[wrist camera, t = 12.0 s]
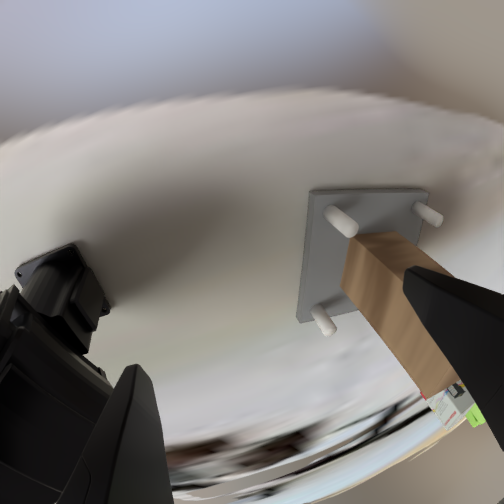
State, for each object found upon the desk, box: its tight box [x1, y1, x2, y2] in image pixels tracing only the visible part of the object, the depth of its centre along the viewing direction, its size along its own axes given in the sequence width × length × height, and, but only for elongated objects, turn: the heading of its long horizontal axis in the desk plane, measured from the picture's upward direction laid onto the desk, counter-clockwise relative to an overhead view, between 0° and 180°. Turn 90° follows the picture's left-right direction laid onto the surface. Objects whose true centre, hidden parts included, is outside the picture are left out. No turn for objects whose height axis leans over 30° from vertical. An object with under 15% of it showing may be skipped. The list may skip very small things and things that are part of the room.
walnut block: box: [340, 231, 461, 399], centre depth 19 cm, size 5×5×13 cm
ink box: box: [420, 380, 475, 430], centre depth 43 cm, size 9×5×12 cm, turn 12°
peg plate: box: [296, 189, 443, 337], centre depth 24 cm, size 12×12×4 cm
